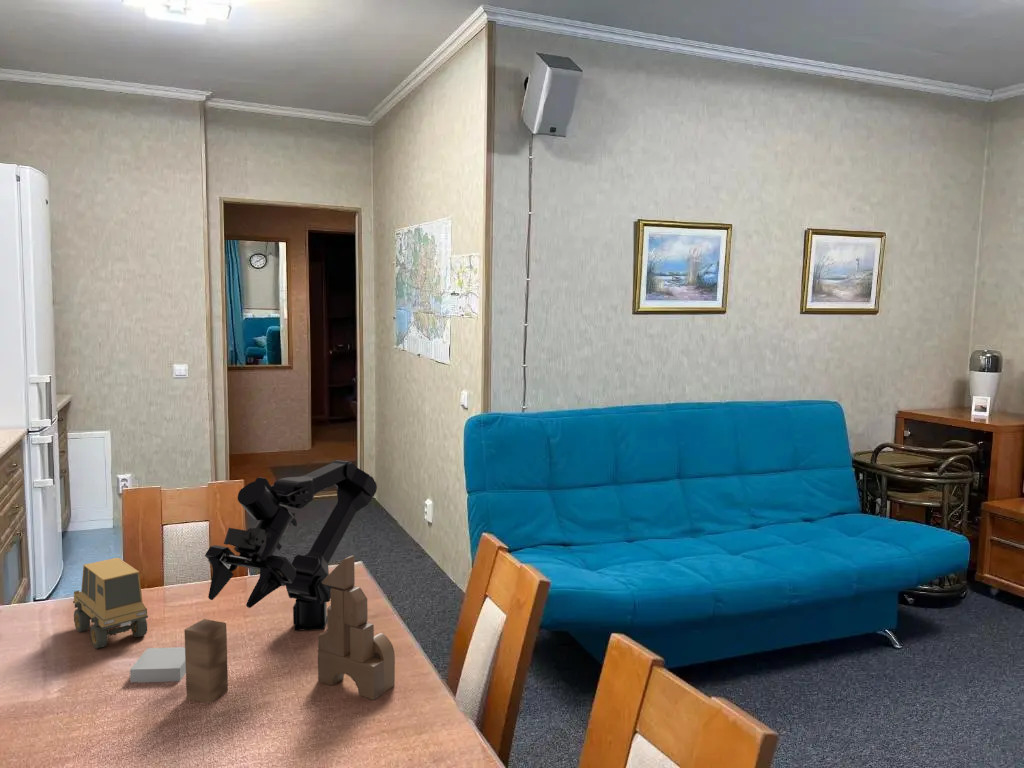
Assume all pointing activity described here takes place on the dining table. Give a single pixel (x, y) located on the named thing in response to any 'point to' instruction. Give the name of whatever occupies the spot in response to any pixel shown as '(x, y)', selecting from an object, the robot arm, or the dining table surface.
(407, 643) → the dining table surface
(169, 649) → the grey block
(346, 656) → the wooden toy
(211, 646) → the walnut block
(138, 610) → the toy car
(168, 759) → the dining table surface
